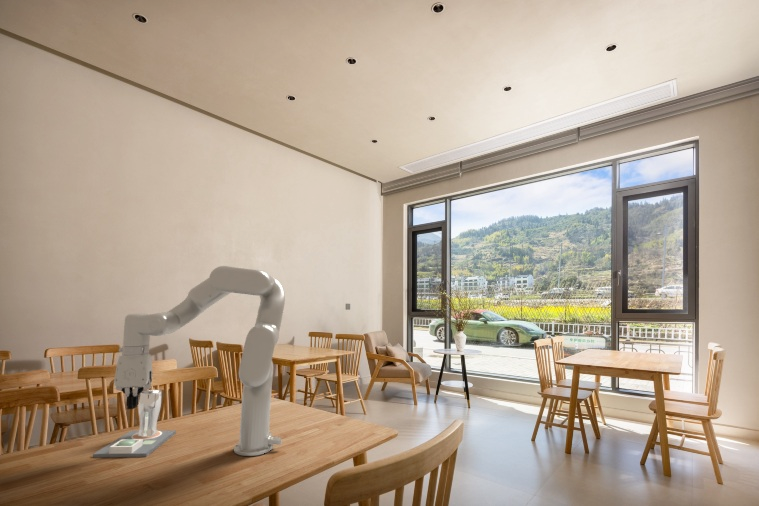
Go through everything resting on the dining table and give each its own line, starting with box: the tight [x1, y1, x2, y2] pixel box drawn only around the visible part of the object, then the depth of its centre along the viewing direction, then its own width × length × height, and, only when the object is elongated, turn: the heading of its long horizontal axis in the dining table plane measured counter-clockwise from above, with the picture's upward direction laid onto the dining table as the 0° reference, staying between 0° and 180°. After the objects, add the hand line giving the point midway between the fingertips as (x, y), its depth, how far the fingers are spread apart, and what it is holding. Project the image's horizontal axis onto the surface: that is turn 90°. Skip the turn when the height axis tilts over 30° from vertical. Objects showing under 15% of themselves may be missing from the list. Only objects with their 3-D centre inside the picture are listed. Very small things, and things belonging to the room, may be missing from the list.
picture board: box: [92, 429, 177, 458], centre depth 134 cm, size 16×22×3 cm
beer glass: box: [137, 389, 162, 438], centre depth 141 cm, size 7×7×15 cm
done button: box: [119, 439, 135, 446], centre depth 127 cm, size 4×4×2 cm
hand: (132, 408), depth 128 cm, fingers closed
